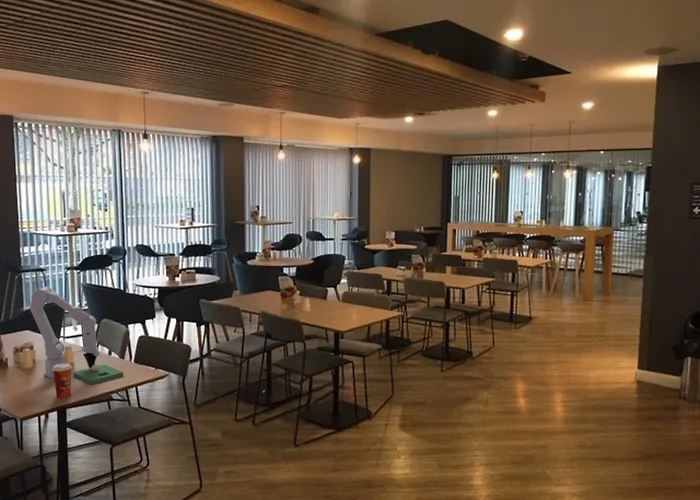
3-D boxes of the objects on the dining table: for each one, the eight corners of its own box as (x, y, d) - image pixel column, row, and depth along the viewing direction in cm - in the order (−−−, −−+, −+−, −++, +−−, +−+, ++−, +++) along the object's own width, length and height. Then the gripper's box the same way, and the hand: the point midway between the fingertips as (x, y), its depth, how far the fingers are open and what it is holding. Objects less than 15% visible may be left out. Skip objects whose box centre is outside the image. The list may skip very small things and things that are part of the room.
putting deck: (73, 375, 286) (73, 372, 286) (105, 368, 298) (104, 364, 298) (91, 384, 274) (91, 380, 273) (123, 376, 286) (123, 372, 285)
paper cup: (65, 399, 254) (63, 368, 253) (50, 398, 256) (48, 367, 254) (77, 393, 262) (75, 363, 260) (62, 392, 263) (60, 362, 262)
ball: (90, 371, 287) (90, 364, 287) (97, 369, 290) (97, 362, 289) (94, 372, 285) (93, 365, 284) (101, 370, 287) (100, 364, 287)
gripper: (104, 341, 287) (106, 368, 289) (91, 336, 296) (92, 362, 298) (90, 344, 282) (92, 371, 283) (77, 339, 291) (78, 365, 293)
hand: (91, 367), depth 290 cm, fingers closed
